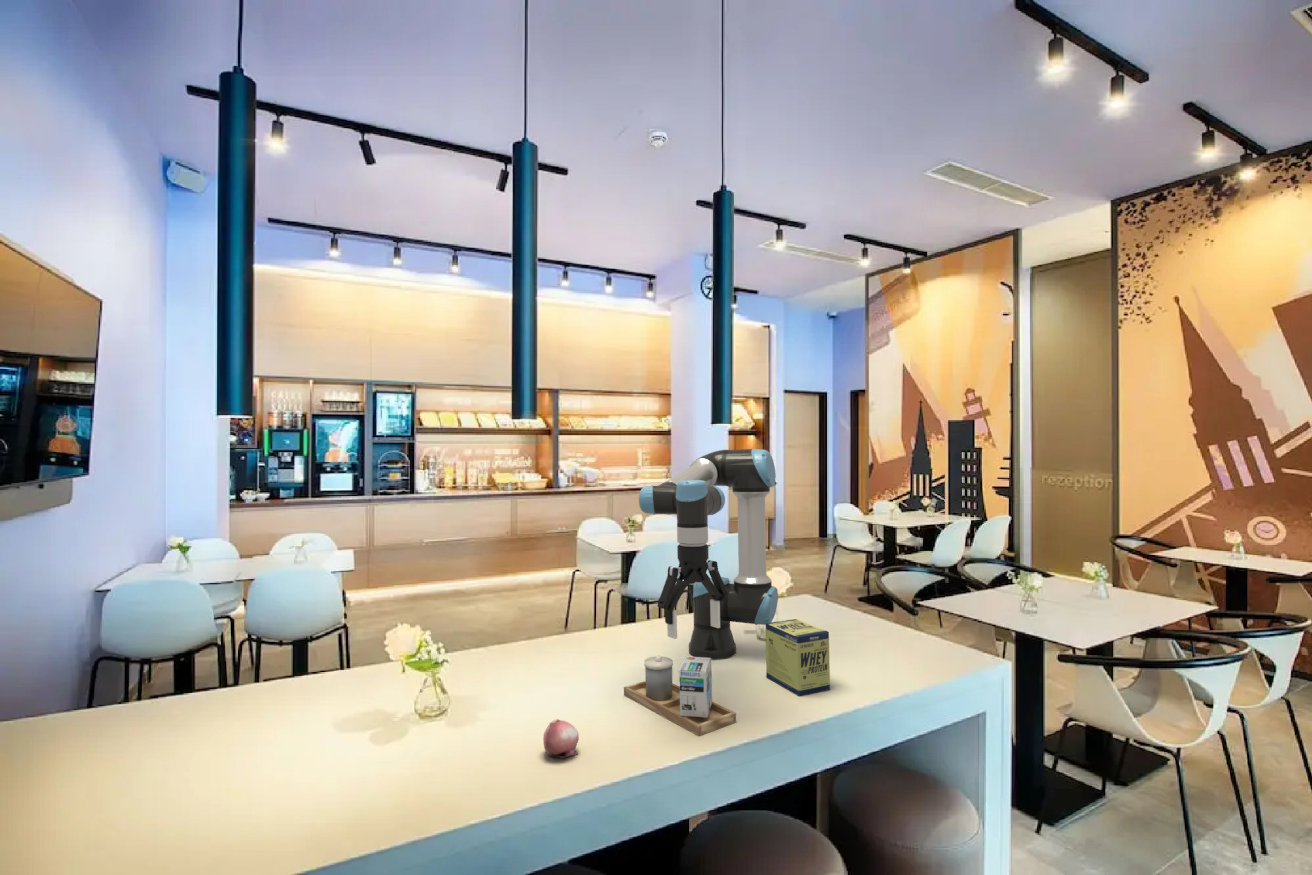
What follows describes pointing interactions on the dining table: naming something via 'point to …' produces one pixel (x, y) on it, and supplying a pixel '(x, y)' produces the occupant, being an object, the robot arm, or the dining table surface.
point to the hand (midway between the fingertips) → (694, 632)
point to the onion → (560, 739)
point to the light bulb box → (695, 686)
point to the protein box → (797, 656)
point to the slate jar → (658, 678)
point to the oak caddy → (671, 710)
